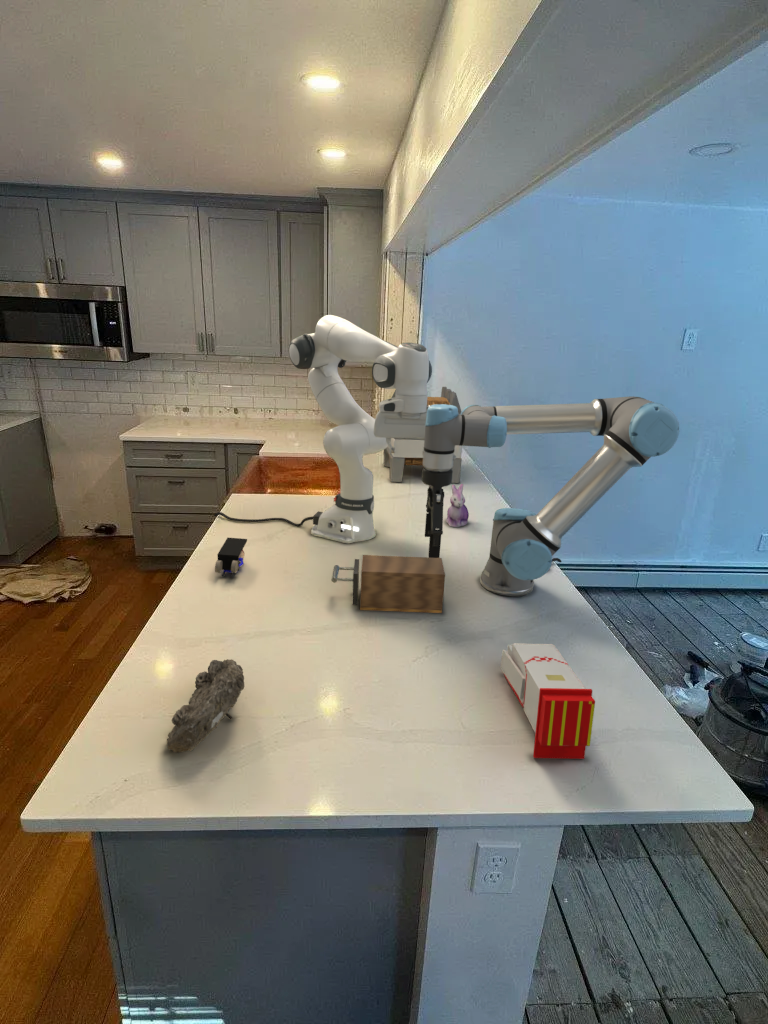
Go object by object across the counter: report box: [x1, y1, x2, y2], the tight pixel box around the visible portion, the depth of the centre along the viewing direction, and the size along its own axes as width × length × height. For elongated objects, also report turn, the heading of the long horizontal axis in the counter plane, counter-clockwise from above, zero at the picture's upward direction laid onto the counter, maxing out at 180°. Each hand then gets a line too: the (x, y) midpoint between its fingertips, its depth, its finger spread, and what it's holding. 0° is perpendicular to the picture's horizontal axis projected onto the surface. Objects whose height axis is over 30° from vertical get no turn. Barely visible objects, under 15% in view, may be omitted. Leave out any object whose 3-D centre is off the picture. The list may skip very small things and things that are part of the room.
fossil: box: [166, 658, 245, 754], centre depth 106 cm, size 22×10×15 cm
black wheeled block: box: [214, 537, 248, 578], centre depth 166 cm, size 7×8×15 cm
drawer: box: [330, 558, 360, 606], centre depth 152 cm, size 26×9×9 cm, turn 90°
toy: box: [499, 642, 596, 760], centre depth 113 cm, size 12×13×30 cm
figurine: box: [446, 483, 470, 528], centre depth 210 cm, size 9×10×15 cm
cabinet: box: [359, 554, 446, 614], centre depth 152 cm, size 22×10×11 cm, turn 90°
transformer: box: [383, 386, 463, 484], centre depth 268 cm, size 34×33×41 cm
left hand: (408, 453), depth 161 cm, fingers open, 8 cm apart
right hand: (431, 546), depth 148 cm, fingers open, 13 cm apart
